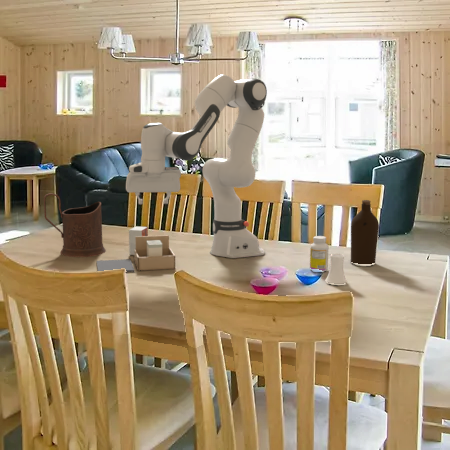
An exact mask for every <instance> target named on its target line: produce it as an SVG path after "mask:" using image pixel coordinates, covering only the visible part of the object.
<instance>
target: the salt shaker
mask: <svg viewBox="0 0 450 450" xmlns="http://www.w3.org/2000/svg"><path fill="white" fill-rule="evenodd" d="M329 256H330V265H329V266H330V267H329V271H328V274H327V277H326V278H325V281H326V282H328V283H334V284H344V283H346V282H347V283H348V279H346V275H345V270H344V260H345V254H342V253H331V254H330V255H329ZM325 281H324V282H325Z"/></svg>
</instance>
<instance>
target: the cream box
mask: <svg viewBox="0 0 450 450" xmlns="http://www.w3.org/2000/svg"><path fill="white" fill-rule="evenodd" d="M153 256H162V243H161V241H160V240H150V241H147V257H153Z"/></svg>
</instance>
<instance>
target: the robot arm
mask: <svg viewBox="0 0 450 450" xmlns="http://www.w3.org/2000/svg"><path fill="white" fill-rule="evenodd" d="M266 85H267V84H266V83H265V82H264V81H263V80H261V79H259V78H254V77H253V78H242V79H238V80H234V78H232V77H231V76H229V75H227V74H220V75H218V76H216V77H214V79H212V80H210V82H208V83H207V84H206V85H205V86H204V88H203V89H202V90H200V92H199V93H198V94H197V96H196V97H195V99H194V107H195V110H196V112H197V113H198V115H199V116H200V117H199V118H198V119H197V120H196V122H195V123H194V125H193V126H192V127H191V129H189V130H188V131H184V132H178V131H174V130H171V129H170V128H168V127H166V126H165V124H163V123H162V122H151V123H147V124H145V125H144V126H143V127H142V130H141V135H140V137H141V138H140V149H141V158H140V161H139V162H138V163H135V164H131V165H130V166H129V168H128V170H129V172H128V173H127V175H126V181H125V191H126V192H127V193H134V194H135V196H136V198H137V199H138V205H143V204H144V202H143V200H144V199H143V198H140V195H141V194H140V193H166V197H165V198H163V204H164V205H169V199H170V197H171V196H172V193H178V192H180V190H181V181H180V178H181V176H182V174H181V173H182V172H181V169H180V168H178V167H177V166H174V167H173V166H172V167H171V166H166V157H167V158H172V159H180V160H183V161H192V160H193V159H195V158H196V157H197V156H198V154H199V153H200V150H201V148H202V146H203V143H204V141H205V139H206V138H207V136H208V135H209V133H210V132H211V131H212V130H213V128H214V127H215V125H216V123H217V122H218V120H219V118H220V115H221V112H222V111H223V110H224V109H225V108H226V107H229V108H235V109H236V108H238V116H237V117H236V120H235V122H234V124H233V127H232V129H231V131H230V134H229V135H228V137H227V142H226V144H227V145H228V147H229V150H230V151H229V152H230V153H229V155H228V156H229V157H228V158H222V157H215V158H210V159H208V160H206V161H205V162H204V164H203V166H202V176H203V178H204V179H205V180H206V182H207V183H208V185H209V187H210V190H211V192H212V196H213V197H212V198H213V204H214V207H213V208H214V210H213V211H214V219H213V221H212V222H213V223H212V232H213V237H212V238H213V240H212V243H211V247H210V248H211V250H210V252H209V253H210V254H211V255H213V256H217V257H224V258H225V257H226V258H228V259H236V258H237V259H238V258H247V257H257V256H264V255H265V253H266V252H265V249H264V248H262V247H261V246H260V242H259V239H258V237H257V236H256V235H255V234H253V233H252V232H251V231H250V230H248V229H247V228H248V227H249V226H250V223H249V221H246V220H244V219H242V200H241V198H240V197H239V195H237V193H236V191H235V188H236V189H238V188H241V189H242V188H247V187H250V186H251V185H252V184H253V183H254V181H255V179H256V169H255V167H254V165H253V161H252V157H253V150H254V149H255V146H256V143H257V140H258V138H259V135H260V133H261V130H262V127H263V123H264V119H265V112H264V110H263V109H262V108H263V107H264V106H265V103H266V102H265V101H266V99H267V94H268V93H267V91H268V89H267V86H266ZM246 227H247V228H246Z"/></svg>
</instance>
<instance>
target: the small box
mask: <svg viewBox="0 0 450 450" xmlns="http://www.w3.org/2000/svg"><path fill="white" fill-rule="evenodd" d="M148 228H149V227H148V226H134V227H132V228H130V229H129V230H128V246H129V247H128V248H129V249H128V252H129V256H135V254H134V249H136V239H135V237H142V236H149V234H148V232H149V229H148Z"/></svg>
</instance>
